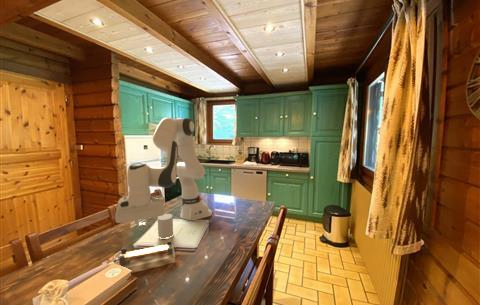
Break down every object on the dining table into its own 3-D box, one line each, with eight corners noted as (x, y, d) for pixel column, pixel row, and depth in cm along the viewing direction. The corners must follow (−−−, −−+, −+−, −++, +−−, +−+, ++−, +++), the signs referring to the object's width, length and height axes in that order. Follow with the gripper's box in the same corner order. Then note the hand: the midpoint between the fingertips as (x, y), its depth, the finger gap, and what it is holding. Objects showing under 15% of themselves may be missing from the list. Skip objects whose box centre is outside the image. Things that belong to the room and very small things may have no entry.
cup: (176, 234, 118) (175, 215, 117) (166, 241, 110) (166, 220, 109) (164, 231, 121) (164, 213, 119) (155, 238, 113) (154, 218, 112)
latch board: (173, 248, 104) (172, 235, 103) (175, 262, 93) (175, 248, 92) (120, 259, 95) (120, 246, 94) (116, 276, 84) (115, 261, 83)
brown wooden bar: (171, 246, 99) (171, 243, 99) (171, 250, 96) (171, 247, 96) (121, 255, 91) (121, 252, 91) (120, 261, 87) (119, 257, 87)
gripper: (164, 193, 96) (165, 219, 98) (115, 199, 88) (118, 228, 90) (164, 197, 91) (166, 225, 93) (113, 204, 83) (116, 235, 84)
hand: (142, 227), depth 91 cm, fingers closed
